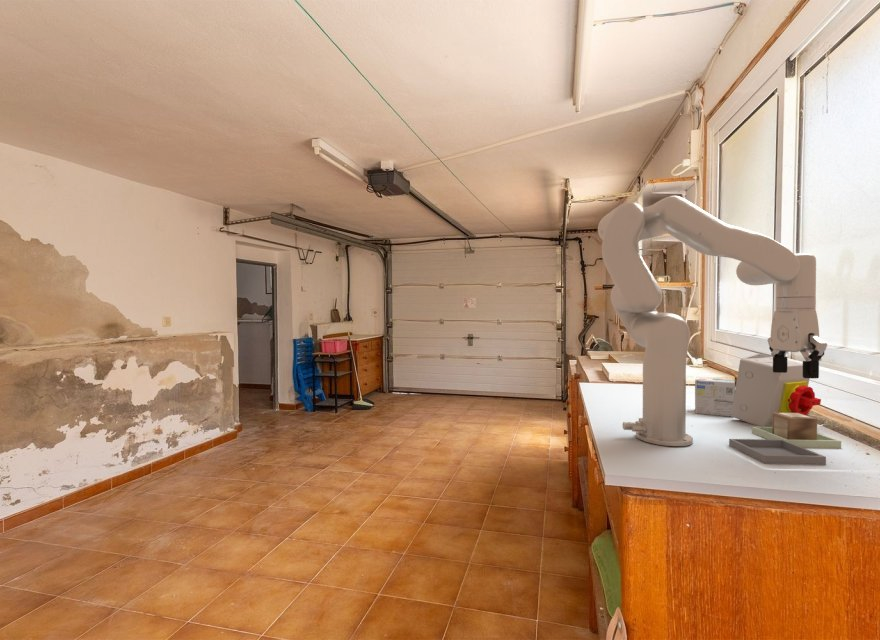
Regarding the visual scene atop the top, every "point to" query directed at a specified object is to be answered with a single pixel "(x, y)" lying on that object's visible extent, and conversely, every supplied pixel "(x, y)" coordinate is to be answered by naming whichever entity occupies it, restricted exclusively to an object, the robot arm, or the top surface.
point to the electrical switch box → (770, 391)
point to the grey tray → (777, 451)
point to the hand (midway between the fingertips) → (794, 375)
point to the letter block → (794, 426)
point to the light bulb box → (714, 396)
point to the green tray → (819, 443)
